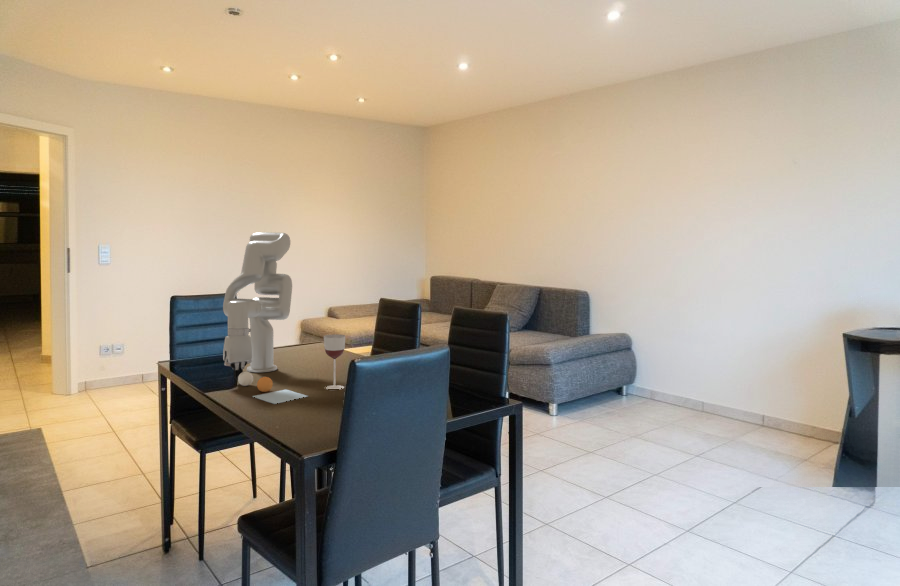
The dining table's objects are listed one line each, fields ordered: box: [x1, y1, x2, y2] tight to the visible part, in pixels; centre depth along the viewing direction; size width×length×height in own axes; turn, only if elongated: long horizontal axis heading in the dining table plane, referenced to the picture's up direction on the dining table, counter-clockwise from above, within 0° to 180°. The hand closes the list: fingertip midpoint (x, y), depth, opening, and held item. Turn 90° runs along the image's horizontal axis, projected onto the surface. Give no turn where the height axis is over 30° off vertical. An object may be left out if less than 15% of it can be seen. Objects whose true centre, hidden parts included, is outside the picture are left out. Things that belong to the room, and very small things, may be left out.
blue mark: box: [252, 389, 309, 405], centre depth 208 cm, size 14×14×1 cm
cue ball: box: [237, 370, 254, 387], centre depth 223 cm, size 6×6×6 cm
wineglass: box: [323, 333, 346, 390], centre depth 222 cm, size 8×9×20 cm
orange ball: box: [256, 376, 274, 393], centre depth 214 cm, size 6×6×6 cm
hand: (238, 379), depth 225 cm, fingers closed
